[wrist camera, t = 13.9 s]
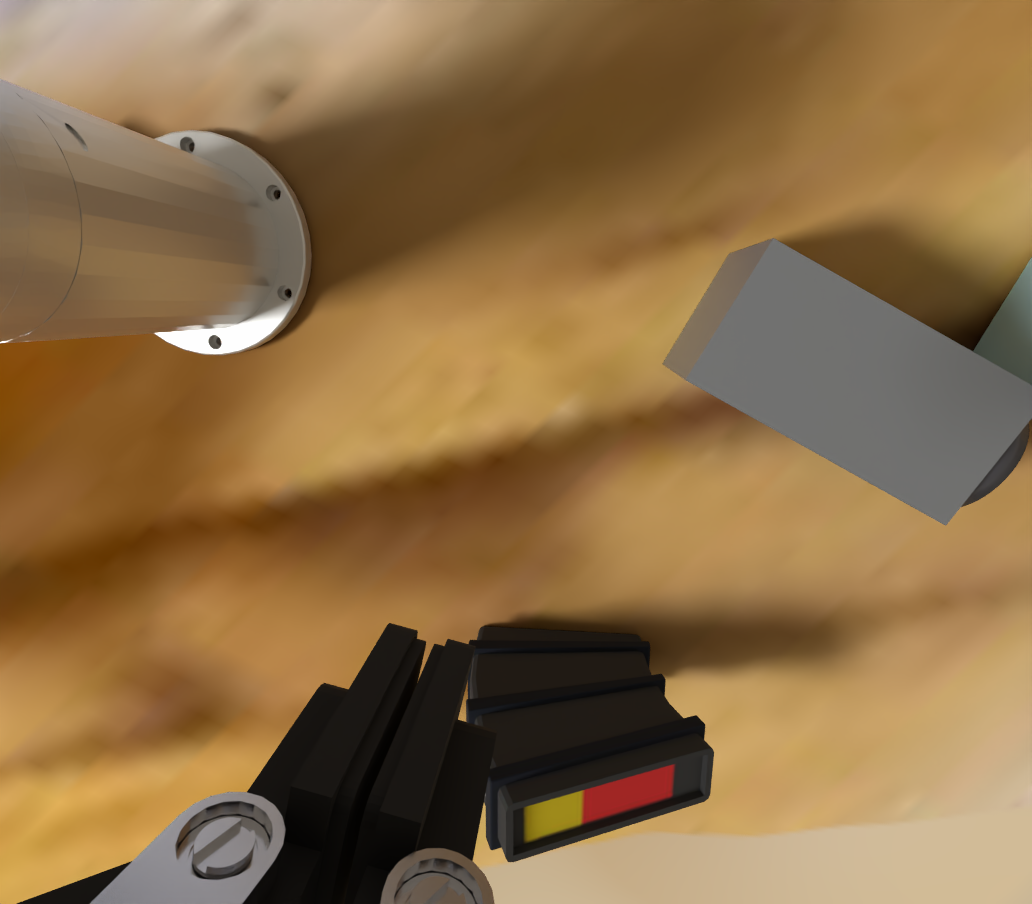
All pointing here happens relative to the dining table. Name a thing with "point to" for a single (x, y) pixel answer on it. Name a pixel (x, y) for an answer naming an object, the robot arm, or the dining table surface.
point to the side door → (1012, 331)
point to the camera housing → (854, 380)
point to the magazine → (578, 737)
